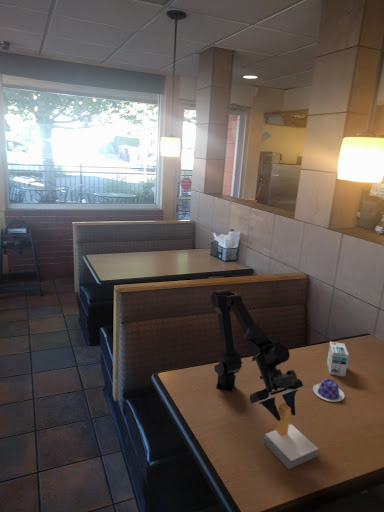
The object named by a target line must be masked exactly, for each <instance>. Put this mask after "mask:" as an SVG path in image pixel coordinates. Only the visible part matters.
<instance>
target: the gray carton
mask: <svg viewBox="0 0 384 512" xmlns="http://www.w3.org/2000/svg"><path fill="white" fill-rule="evenodd" d="M262 441H263V444H264V445H265V446H266V447H267V448H268V449H269V451H271V453H272V454H273V455H274V456H276V458H277V459H278V460H279V461H280V462H281V463H282V464H283V465H284V466H285V467H286V469H288V470H290V469H293V468H295V467H297V466H300V465H302V464H304V463H306V462H308V461H311V460H313V459H314V458H317V457H318V455H319V449H318V450H316V451H314V452H311V453H309V454H307V455H305V456H302V457H300V458H298V459H296V460H293V461H290V460H289V459H288V458H287V457H286V456H285V455H284V454H283V453H282V452H281V451H280V450H279V449H278V448H277V447H276V446H275V445H274V443H273V442H272V441H271V440H270V439H269V438H268V437H267V436H266V435H265V436H263V440H262Z"/></svg>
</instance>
